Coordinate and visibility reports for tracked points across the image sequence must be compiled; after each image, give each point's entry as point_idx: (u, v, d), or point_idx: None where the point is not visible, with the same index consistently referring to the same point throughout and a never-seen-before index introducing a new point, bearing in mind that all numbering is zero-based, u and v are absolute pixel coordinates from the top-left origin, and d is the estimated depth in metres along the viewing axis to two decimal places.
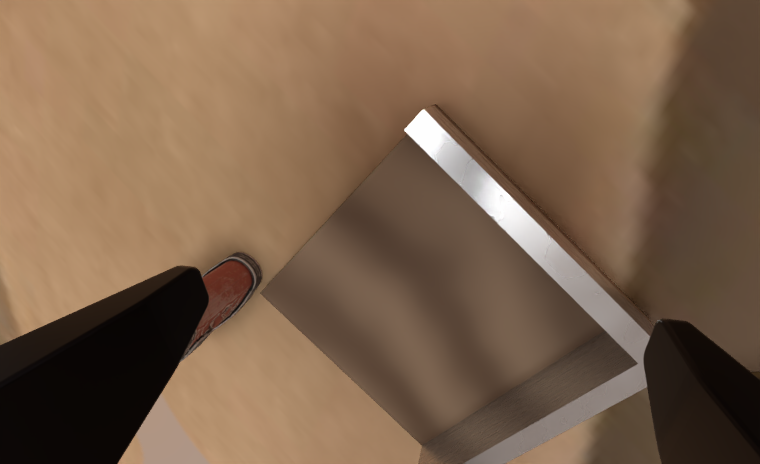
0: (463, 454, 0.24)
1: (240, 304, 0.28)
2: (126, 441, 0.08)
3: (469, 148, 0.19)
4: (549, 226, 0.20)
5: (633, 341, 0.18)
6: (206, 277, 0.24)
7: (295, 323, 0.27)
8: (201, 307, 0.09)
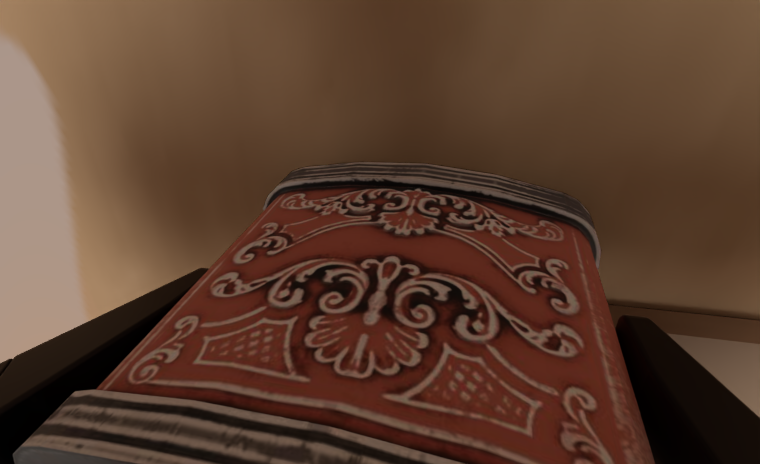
0: None
1: None
2: None
3: None
4: None
5: None
6: (602, 315, 0.07)
7: None
8: None
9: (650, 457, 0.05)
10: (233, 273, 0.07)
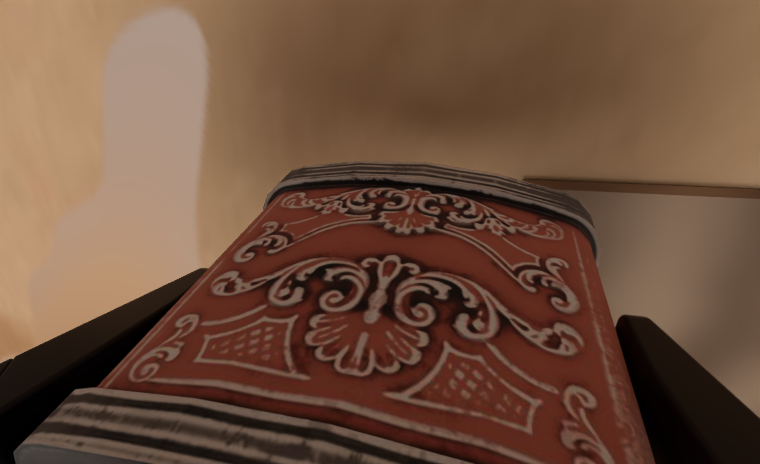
0: None
1: None
2: None
3: None
4: None
5: None
6: (602, 314, 0.07)
7: None
8: None
9: (650, 455, 0.05)
10: (234, 272, 0.07)
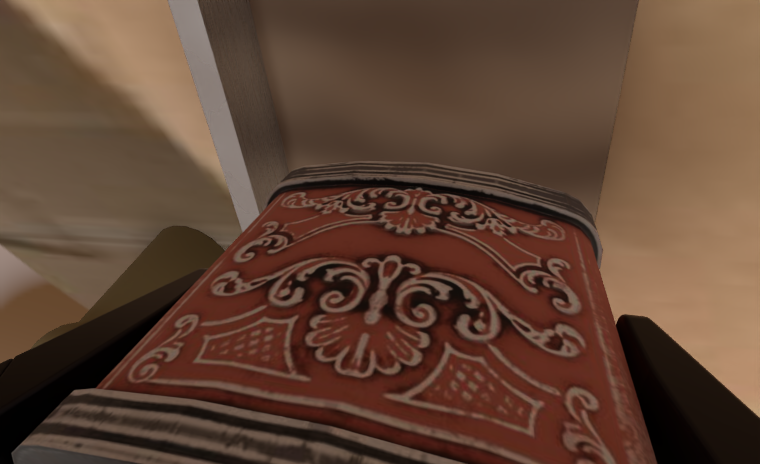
0: (234, 94, 0.17)
1: None
2: None
3: None
4: None
5: None
6: (604, 315, 0.07)
7: None
8: None
9: (652, 458, 0.05)
10: (234, 271, 0.07)
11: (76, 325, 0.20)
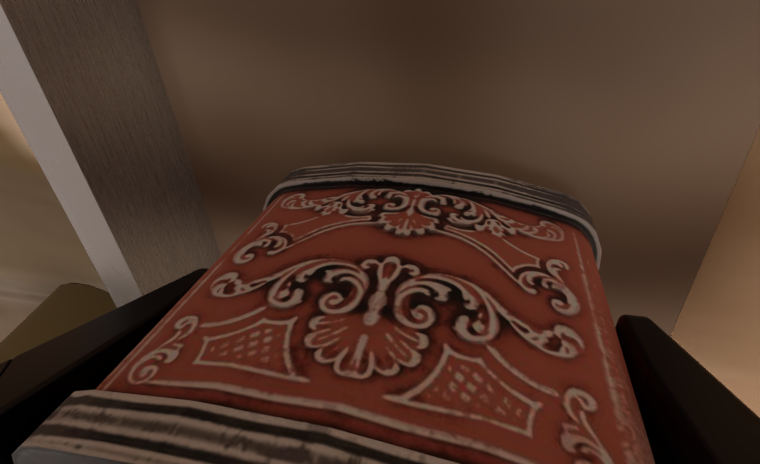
0: (88, 129, 0.10)
1: None
2: None
3: None
4: None
5: None
6: (602, 316, 0.07)
7: None
8: None
9: (651, 459, 0.05)
10: (233, 273, 0.07)
11: None
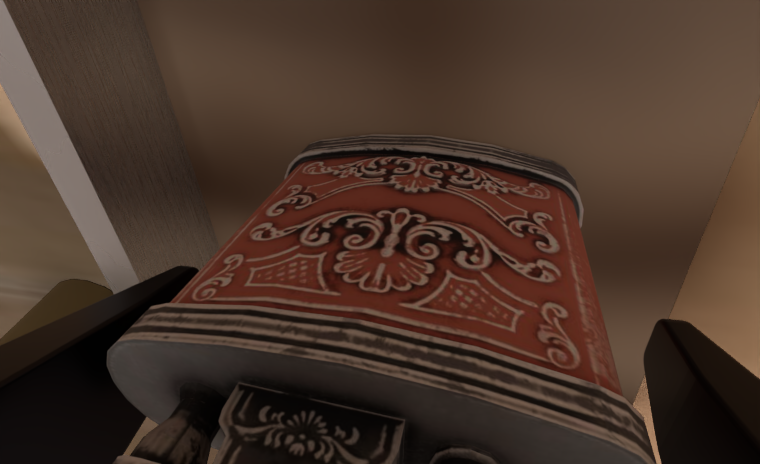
0: (89, 123, 0.10)
1: None
2: (127, 441, 0.08)
3: None
4: None
5: None
6: (578, 255, 0.08)
7: None
8: None
9: (609, 353, 0.06)
10: (268, 223, 0.09)
11: None
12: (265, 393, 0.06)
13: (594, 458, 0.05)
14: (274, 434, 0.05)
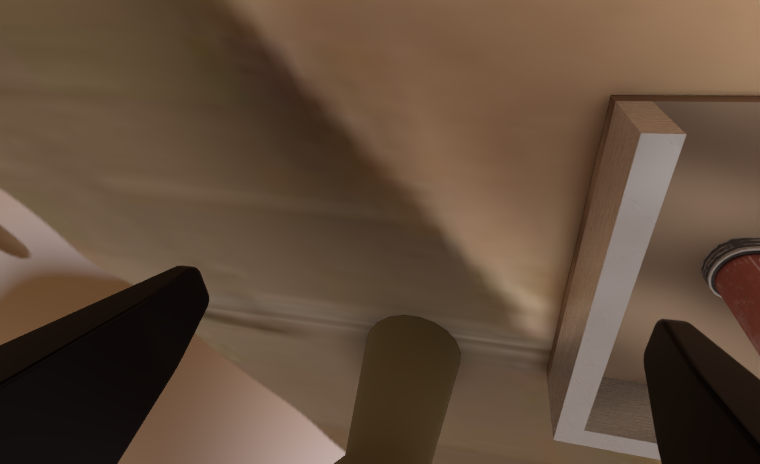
0: None
1: None
2: (127, 441, 0.08)
3: None
4: None
5: (604, 441, 0.20)
6: None
7: None
8: (201, 307, 0.09)
9: None
10: None
11: (380, 459, 0.18)
12: None
13: None
14: None
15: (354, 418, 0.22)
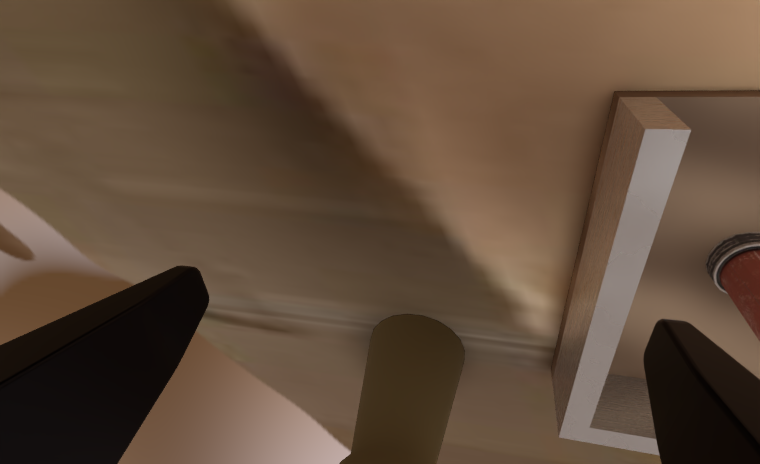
0: None
1: None
2: (127, 441, 0.08)
3: None
4: None
5: (610, 438, 0.20)
6: None
7: None
8: (201, 307, 0.09)
9: None
10: None
11: (385, 457, 0.18)
12: None
13: None
14: None
15: (359, 417, 0.22)
